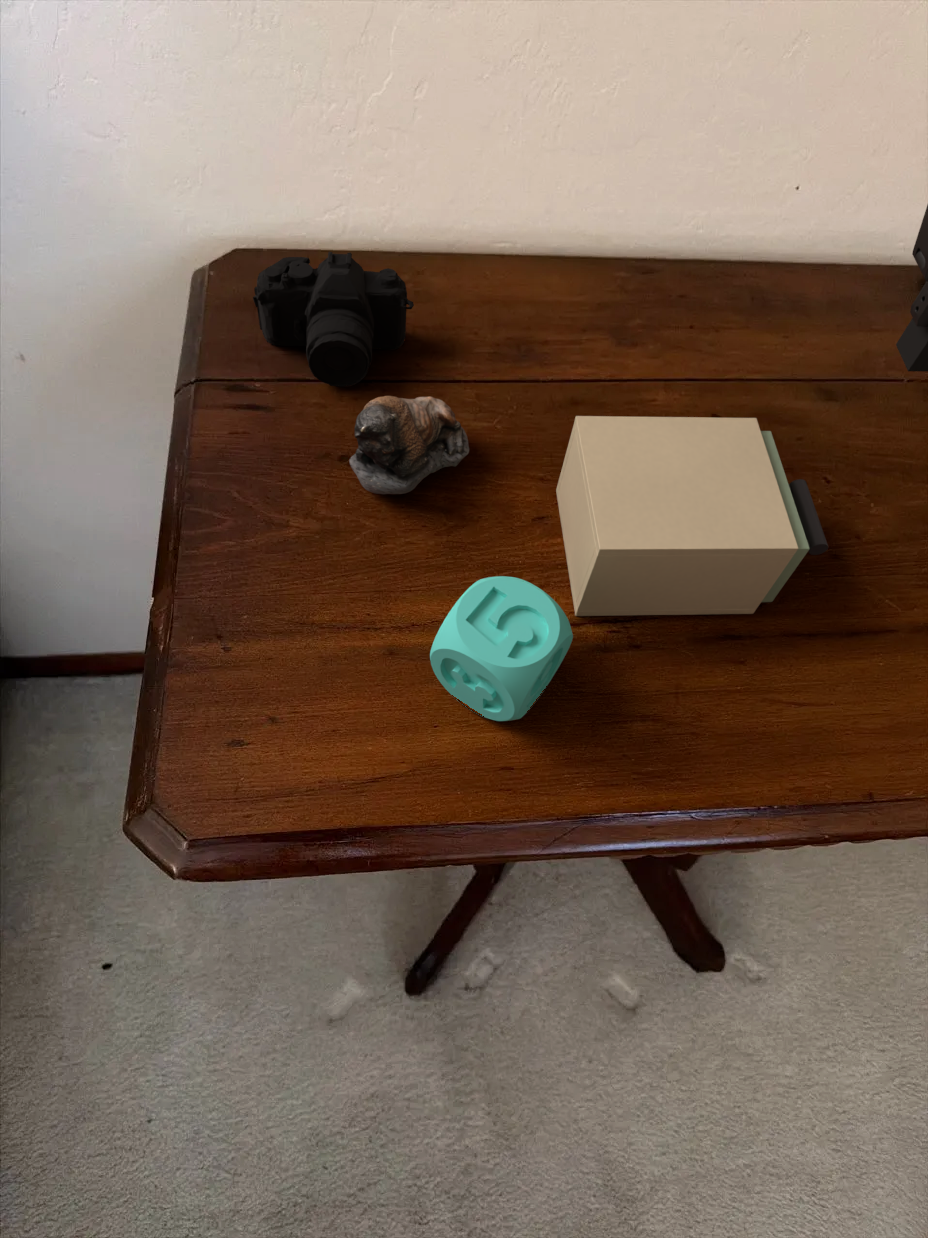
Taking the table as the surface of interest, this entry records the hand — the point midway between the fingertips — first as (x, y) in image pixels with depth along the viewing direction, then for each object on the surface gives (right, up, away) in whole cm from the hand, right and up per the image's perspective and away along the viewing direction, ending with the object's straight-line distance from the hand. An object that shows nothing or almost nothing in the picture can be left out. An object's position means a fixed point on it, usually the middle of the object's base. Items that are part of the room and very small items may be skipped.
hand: (911, 357), depth 62 cm
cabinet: (-15, -12, +16) cm, 25 cm away
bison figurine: (-37, -5, +19) cm, 41 cm away
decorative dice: (-29, -23, +8) cm, 38 cm away
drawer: (-11, -12, +16) cm, 22 cm away
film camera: (-44, +8, +26) cm, 52 cm away
